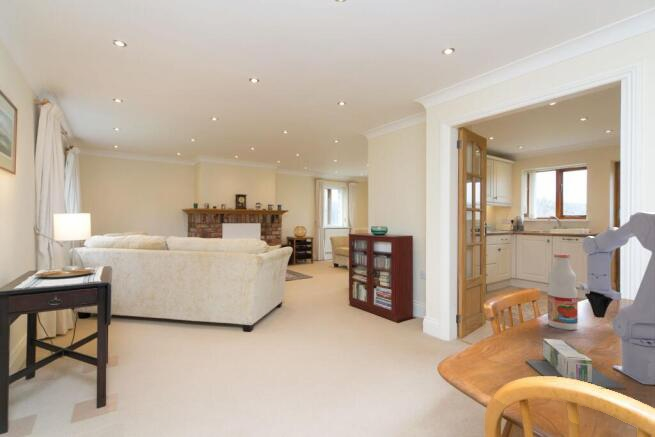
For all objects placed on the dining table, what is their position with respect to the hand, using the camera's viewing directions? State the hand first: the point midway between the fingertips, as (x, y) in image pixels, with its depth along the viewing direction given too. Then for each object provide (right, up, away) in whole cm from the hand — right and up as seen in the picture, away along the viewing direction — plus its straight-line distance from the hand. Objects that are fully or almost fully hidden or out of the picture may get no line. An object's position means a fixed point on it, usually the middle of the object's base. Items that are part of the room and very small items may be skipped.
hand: (599, 317), depth 101 cm
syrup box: (-20, -7, -7) cm, 22 cm away
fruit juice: (+5, -11, +23) cm, 26 cm away
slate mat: (-22, -10, -16) cm, 29 cm away
